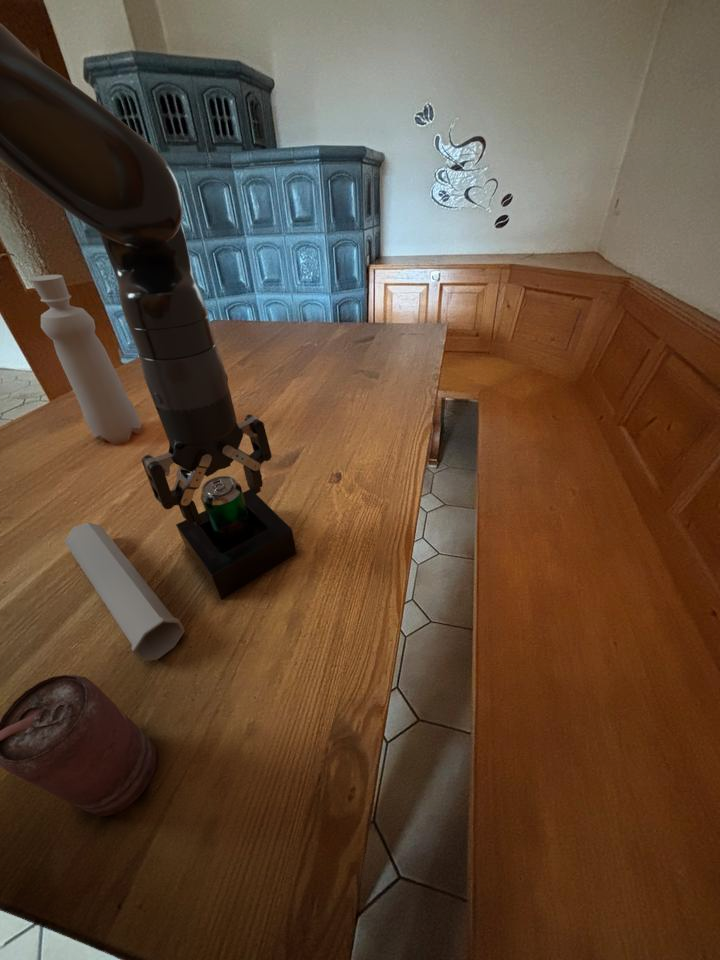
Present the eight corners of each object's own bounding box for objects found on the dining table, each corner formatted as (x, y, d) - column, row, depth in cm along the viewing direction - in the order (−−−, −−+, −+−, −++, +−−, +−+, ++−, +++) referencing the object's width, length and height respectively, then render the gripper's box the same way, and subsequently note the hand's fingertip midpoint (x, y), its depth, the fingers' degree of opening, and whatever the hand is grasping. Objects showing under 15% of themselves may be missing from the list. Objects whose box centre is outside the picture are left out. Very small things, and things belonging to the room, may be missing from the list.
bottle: (153, 427, 83) (91, 273, 64) (121, 450, 76) (41, 285, 58) (120, 421, 85) (50, 270, 66) (85, 443, 79) (-3, 282, 60)
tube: (49, 537, 53) (122, 655, 39) (83, 509, 55) (164, 613, 41) (80, 554, 57) (156, 666, 44) (111, 527, 59) (192, 627, 45)
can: (73, 776, 35) (-26, 716, 26) (143, 721, 38) (77, 652, 30) (93, 840, 32) (-12, 797, 23) (169, 774, 35) (103, 714, 26)
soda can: (228, 568, 53) (205, 505, 46) (216, 546, 56) (193, 483, 49) (262, 552, 55) (245, 489, 48) (248, 531, 59) (231, 469, 51)
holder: (296, 553, 55) (292, 529, 52) (221, 599, 49) (211, 575, 46) (256, 512, 62) (250, 488, 59) (186, 548, 56) (175, 524, 53)
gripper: (234, 361, 46) (258, 469, 56) (105, 400, 38) (160, 517, 48) (269, 380, 41) (288, 493, 52) (132, 428, 34) (186, 550, 44)
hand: (226, 505), depth 50 cm, fingers open, 8 cm apart
